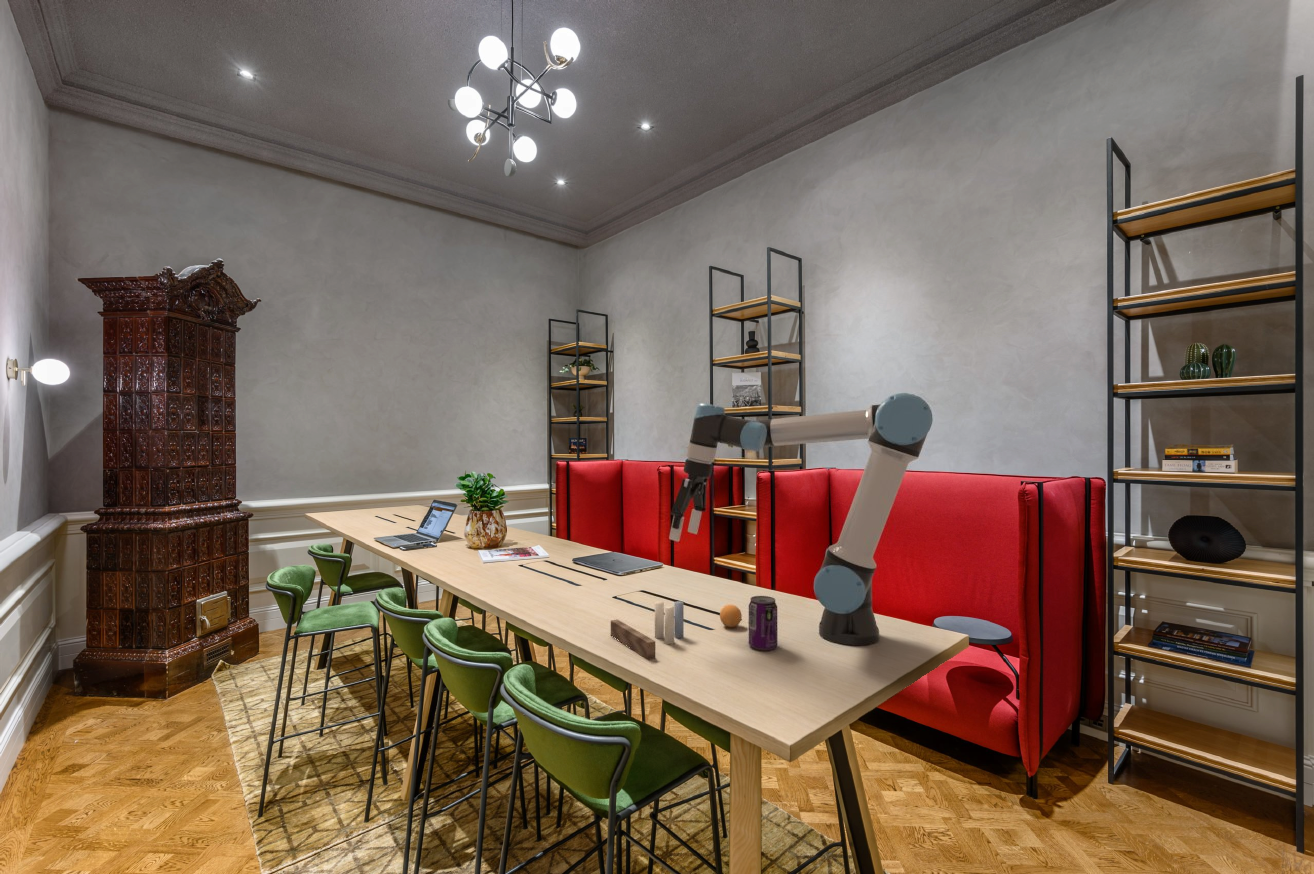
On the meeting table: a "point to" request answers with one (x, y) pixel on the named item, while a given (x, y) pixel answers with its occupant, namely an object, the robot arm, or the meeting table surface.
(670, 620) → the rear pin left
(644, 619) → the meeting table surface
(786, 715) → the meeting table surface
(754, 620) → the beverage can
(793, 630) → the meeting table surface
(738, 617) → the ball
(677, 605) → the front pin
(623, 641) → the walnut rail
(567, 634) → the meeting table surface
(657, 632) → the rear pin right
